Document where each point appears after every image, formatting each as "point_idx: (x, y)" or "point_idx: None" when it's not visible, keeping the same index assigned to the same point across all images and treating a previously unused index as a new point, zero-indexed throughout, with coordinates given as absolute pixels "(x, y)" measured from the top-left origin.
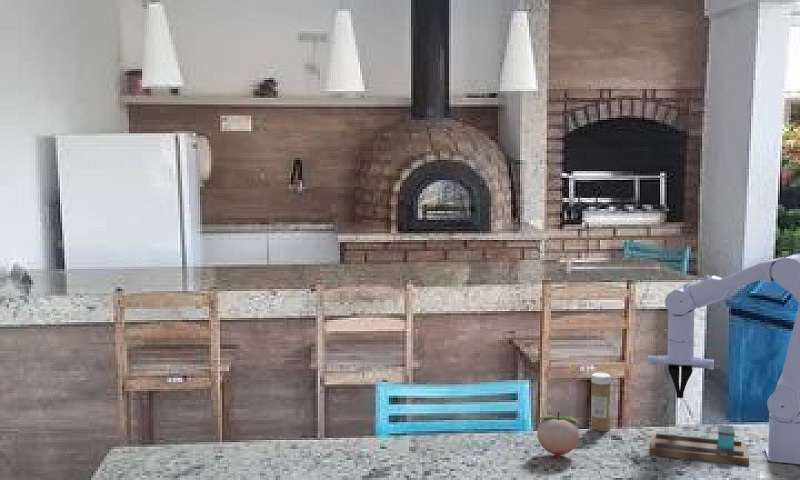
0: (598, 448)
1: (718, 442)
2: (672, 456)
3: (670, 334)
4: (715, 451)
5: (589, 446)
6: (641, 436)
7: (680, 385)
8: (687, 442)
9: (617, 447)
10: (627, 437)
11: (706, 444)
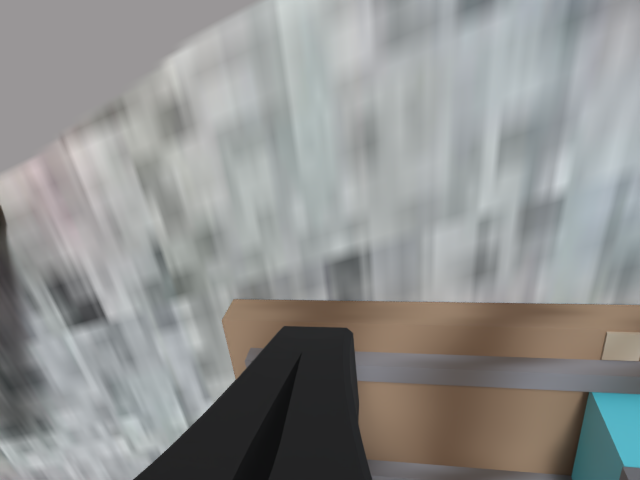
0: (77, 427)
1: (586, 467)
2: None
3: None
4: None
5: (41, 415)
6: (172, 255)
7: (290, 416)
8: (415, 396)
9: (131, 406)
10: (119, 288)
11: (517, 402)
